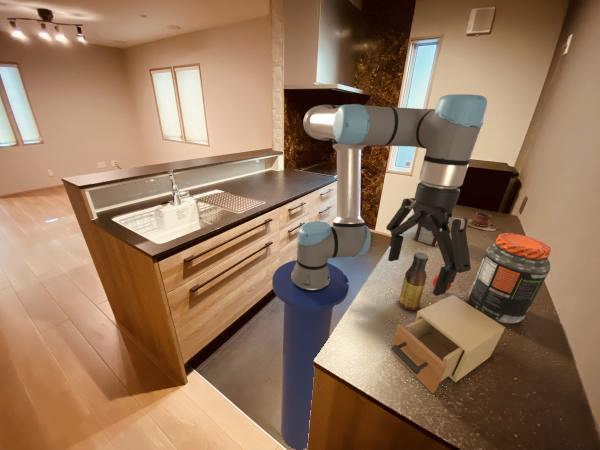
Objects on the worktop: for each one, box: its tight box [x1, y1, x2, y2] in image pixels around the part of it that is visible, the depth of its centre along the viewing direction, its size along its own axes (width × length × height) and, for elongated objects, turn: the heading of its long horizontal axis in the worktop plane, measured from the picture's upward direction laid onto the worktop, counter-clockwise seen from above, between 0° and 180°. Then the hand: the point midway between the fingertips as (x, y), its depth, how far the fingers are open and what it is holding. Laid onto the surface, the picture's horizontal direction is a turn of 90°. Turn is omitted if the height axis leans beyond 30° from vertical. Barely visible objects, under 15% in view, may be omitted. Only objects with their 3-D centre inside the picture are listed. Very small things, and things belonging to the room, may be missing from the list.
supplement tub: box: [468, 232, 552, 324], centre depth 79 cm, size 16×16×26 cm
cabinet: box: [414, 294, 506, 383], centre depth 67 cm, size 16×14×11 cm
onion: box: [432, 274, 452, 292], centre depth 90 cm, size 6×6×8 cm
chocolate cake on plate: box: [466, 212, 497, 232], centre depth 152 cm, size 18×18×7 cm
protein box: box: [414, 225, 442, 247], centre depth 129 cm, size 10×15×16 cm
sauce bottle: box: [399, 251, 429, 311], centre depth 80 cm, size 7×6×20 cm
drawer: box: [390, 318, 465, 394], centre depth 62 cm, size 19×13×9 cm, turn 118°
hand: (413, 275), depth 57 cm, fingers open, 13 cm apart
